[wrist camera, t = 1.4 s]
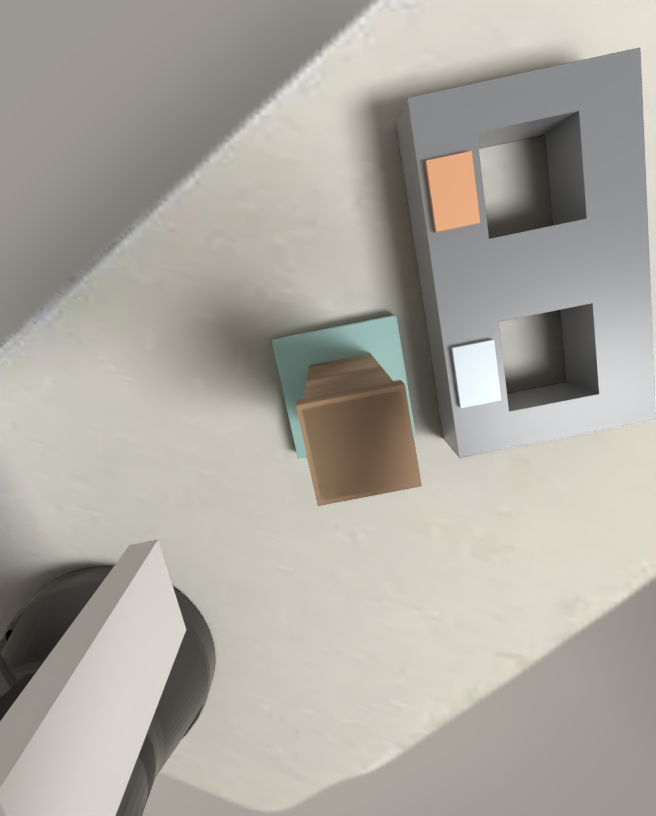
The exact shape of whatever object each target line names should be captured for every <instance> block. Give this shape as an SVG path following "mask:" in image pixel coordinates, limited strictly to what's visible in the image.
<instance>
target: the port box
mask: <svg viewBox="0 0 656 816" xmlns="http://www.w3.org/2000/svg"><path fill="white" fill-rule="evenodd" d="M396 127H397V134H398V140H399V147H400V153H401V160H402V167H403V173H404V180H405V187H406V193H407V200H408V207H409V213H410V220H411V226H412V233H413V240H414V246H415V253H416V260H417V266H418V273H419V280H420V286H421V293H422V300H423V306H424V313H425V319H426V326H427V333H428V339H429V346H430V353H431V359H432V366H433V373H434V379H435V386H436V392H437V399H438V406H439V412H440V419H441V426H442V432H443V439H444V440H445V441H446V442H447V444H448V445H449V446H450V447H451V448H452V450H453V451H454V452H455V453H456V454H457V456H458V457H459V458H463V457H468V456H473V455H478V454H483V453H488V452H494V451H499V450H504V449H509V448H514V447H520V446H525V445H530V444H535V443H540V442H546V441H551V440H556V439H561V438H566V437H571V436H577V435H582V434H587V433H592V432H597V431H603V430H608V429H613V428H618V427H623V426H629V425H634V424H639V423H644V422H649V421H654V420H656V399H655V376H654V353H653V329H652V306H651V283H650V260H649V237H648V214H647V191H646V167H645V144H644V121H643V98H642V75H641V52H640V48H635V49H631V50H626V51H622V52H617V53H612V54H608V55H603V56H599V57H594V58H589V59H585V60H580V61H576V62H571V63H566V64H562V65H557V66H552V67H548V68H543V69H539V70H534V71H529V72H525V73H520V74H516V75H511V76H506V77H502V78H497V79H493V80H488V81H483V82H479V83H474V84H470V85H465V86H460V87H456V88H451V89H446V90H442V91H437V92H433V93H428V94H423V95H419V96H414V97H410V98H407V101H406V103H405V105H404V107H403V110H402V112H401V114H400V116H399V119H398V121H397V123H396ZM542 135H545V143H546V155H547V167H548V178H549V190H550V201H551V213H552V224H553V226H549V227H544V228H539V229H534V230H530V231H525V232H520V233H515V234H510V235H505V236H501V237H496V238H491V239H489V235H488V226H487V218H486V209H485V200H484V192H483V183H482V175H481V166H480V157H479V149H481V148H486V147H490V146H495V145H500V144H504V143H509V142H514V141H518V140H523V139H528V138H533V137H537V136H542ZM556 310H560V317H561V328H562V340H563V352H564V363H565V375H566V382H564V383H559V384H554V385H549V386H544V387H539V388H534V389H528V390H523V391H518V392H513V393H508V394H507V390H506V381H505V373H504V364H503V355H502V347H501V338H500V330H499V322H501V321H506V320H511V319H516V318H521V317H526V316H531V315H536V314H541V313H546V312H551V311H556Z"/></svg>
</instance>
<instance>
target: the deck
mask: <svg viewBox="0 0 656 816" xmlns="http://www.w3.org/2000/svg"><path fill="white" fill-rule="evenodd" d="M271 342H272V346H273V350H274V355H275V359H276V364H277V368H278V373H279V377H280V381H281V386H282V390H283V395H284V399H285V404H286V408H287V412H288V417H289V421H290V426H291V430H292V435H293V439H294V443H295V448H296V452H297V457H298V459H300V458H305V457H307V454H306V450H305V445H304V441H303V436H302V431H301V427H300V422H299V418H298V413H297V409H296V403H297V400H301V399H304V393H305V386H306V380H307V374H308V368H309V365H314V364H319V363H324V362H329V361H334V360H339V359H344V358H349V357H354V356H359V355H364V354H369V353H371V354H372V356H373V357H374V358H375V359H376V361H377V362H378V363H379V364H380V365H381V367H382V368H383V369H384V370H385V372H386V373H387V374H388V375H389V376H390V378H391V379H392V380H393V381H397V380H401V381H402V382H403V383H404V384H405V388H406V395H407V401H408V407H409V413H410V419H411V425H412V431H413V436H416V433H415V427H414V421H413V414H412V408H411V402H410V396H409V390H408V384H407V378H406V372H405V366H404V360H403V354H402V347H401V341H400V335H399V329H398V323H397V317H396V315H390V316H385V317H380V318H375V319H370V320H365V321H360V322H355V323H350V324H345V325H340V326H335V327H330V328H326V329H321V330H316V331H311V332H306V333H301V334H296V335H291V336H286V337H281V338H276V339H273V340H272V341H271Z"/></svg>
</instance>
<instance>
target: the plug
mask: <svg viewBox="0 0 656 816" xmlns="http://www.w3.org/2000/svg"><path fill="white" fill-rule="evenodd" d="M296 409H297V413H298V418H299V422H300V427H301V431H302V436H303V441H304V445H305V450H306V454H307V459H308V463H309V468H310V472H311V477H312V481H313V486H314V490H315V495H316V499H317V504H318V506H321V505H326V504H331V503H336V502H342V501H347V500H352V499H357V498H363V497H368V496H373V495H378V494H383V493H389V492H394V491H399V490H404V489H410V488H415V487H420V486H422V485H421V479H420V473H419V467H418V461H417V455H416V449H415V443H414V437H413V431H412V425H411V419H410V413H409V407H408V401H407V395H406V388H405V384H404V383H403V382H402V381H401V380H397V381H393V380H392V379H391V378H390V376H389V375H388V374H387V373H386V372H385V370H384V369H383V368H382V367H381V365H380V364H379V363H378V362H377V361H376V359H375V358H374V357H373V356H372V354H371V353H369V354H364V355H359V356H354V357H349V358H344V359H339V360H334V361H329V362H324V363H319V364H314V365H309V368H308V374H307V380H306V386H305V393H304V399H301V400H297V403H296Z"/></svg>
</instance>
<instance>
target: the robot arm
mask: <svg viewBox="0 0 656 816" xmlns="http://www.w3.org/2000/svg"><path fill="white" fill-rule="evenodd" d="M214 671H215V648H214V643H213V639H212V636H211V633H210V630H209V628H208V626H207V624H206V622H205V620H204V618H203V617H202V615H201V614H200V612H199V611H198V610H197V608H196V607H195V606H194V605H193V604H192V603H191V602H190V601H189V600H188V599H187V598H186V597H185V596H184V595H183V594H182V593H181V592H179V591H178V590H177V589H175V588H174V587H173V586H172V582H171V579H170V576H169V573H168V570H167V567H166V563H165V560H164V557H163V554H162V551H161V547H160V544H159V541H158V540H154V541H149V542H144V543H139V544H134V545H129V547H128V548H127V549H126V551H125V552H124V554H123V555H122V556H121V558H120V559H119V560H118V562H117V563H116V564H115V566H114V567H94V568H87V569H82V570H77V571H74V572H71V573H68V574H66V575H63V576H61V577H59V578H57V579H55V580H53V581H52V582H50V583H49V584H47V585H46V586H44V587H43V588H42V589H41V590H39V591H38V592H37V593H36V594H35V595H34V596H33V597H32V598H31V599H30V601H29V602H28V603H27V604H26V605H25V606H24V607H23V608H22V609H21V610H20V611H19V612H18V614H17V615H16V616H15V617H14V619H13V620H12V621H11V623H10V624H9V626H8V628H7V629H6V631H5V633H4V635H3V637H2V640H1V642H0V816H142V814H143V811H144V808H145V805H146V802H147V799H148V797H149V794H150V791H151V788H152V785H153V782H154V779H155V777H156V776H157V774H158V773H159V771H160V770H161V769H162V767H163V766H164V764H165V763H166V761H167V760H168V758H169V757H170V755H171V754H172V753H173V751H174V750H175V748H176V747H177V745H178V744H179V742H180V741H181V739H182V738H183V737H184V736H185V735H186V734H187V733H188V732H189V730H190V729H191V728H192V727H193V725H194V724H195V722H196V721H197V719H198V718H199V716H200V714H201V712H202V710H203V708H204V706H205V703H206V701H207V697H208V694H209V690H210V687H211V683H212V679H213V676H214Z"/></svg>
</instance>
